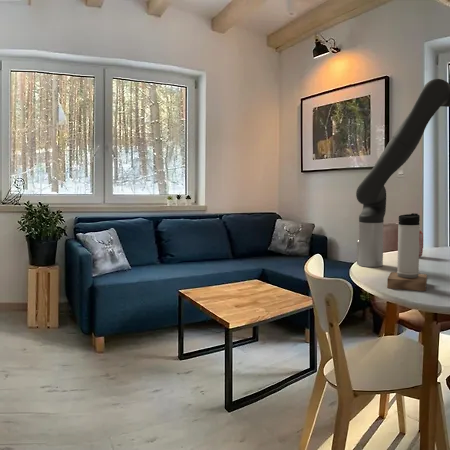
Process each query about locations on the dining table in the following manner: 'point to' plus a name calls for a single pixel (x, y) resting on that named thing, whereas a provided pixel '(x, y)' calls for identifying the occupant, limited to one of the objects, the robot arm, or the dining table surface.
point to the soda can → (420, 243)
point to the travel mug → (408, 245)
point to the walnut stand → (407, 282)
